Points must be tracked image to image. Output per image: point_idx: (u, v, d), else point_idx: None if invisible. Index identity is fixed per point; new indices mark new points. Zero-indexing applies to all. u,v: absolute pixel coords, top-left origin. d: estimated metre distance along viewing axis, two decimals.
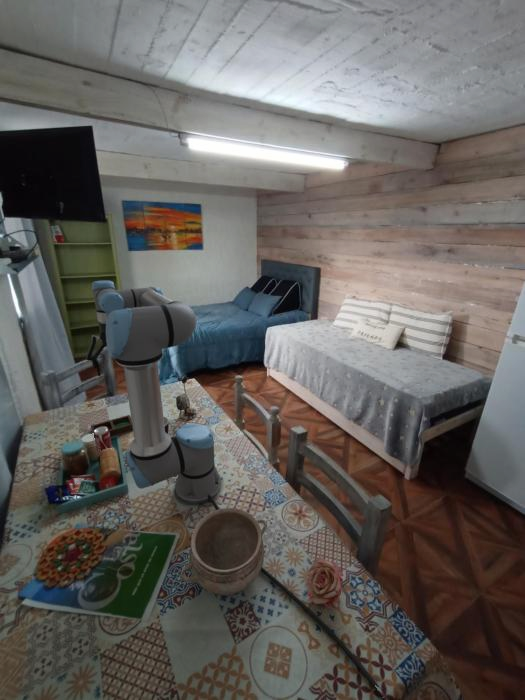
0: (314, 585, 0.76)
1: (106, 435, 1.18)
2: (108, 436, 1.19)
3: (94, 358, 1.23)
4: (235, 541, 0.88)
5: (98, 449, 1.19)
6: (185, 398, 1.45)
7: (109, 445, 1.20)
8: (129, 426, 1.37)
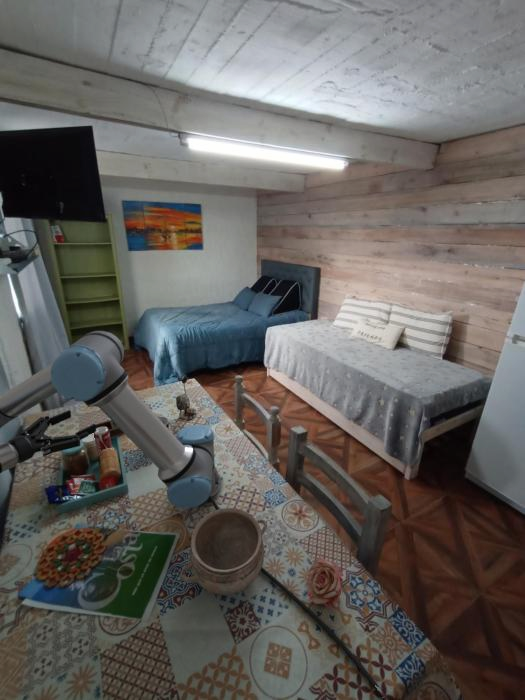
0: (314, 585, 0.76)
1: (106, 435, 1.18)
2: (108, 436, 1.19)
3: (73, 436, 0.99)
4: (235, 541, 0.88)
5: (98, 449, 1.19)
6: (185, 398, 1.45)
7: (109, 445, 1.20)
8: None
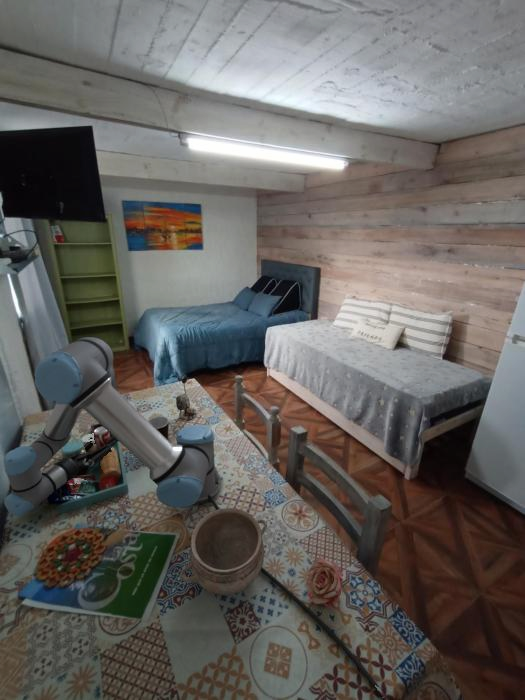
0: (314, 585, 0.76)
1: (106, 435, 1.18)
2: (108, 436, 1.19)
3: (105, 445, 1.17)
4: (235, 541, 0.88)
5: None
6: (185, 398, 1.45)
7: None
8: None
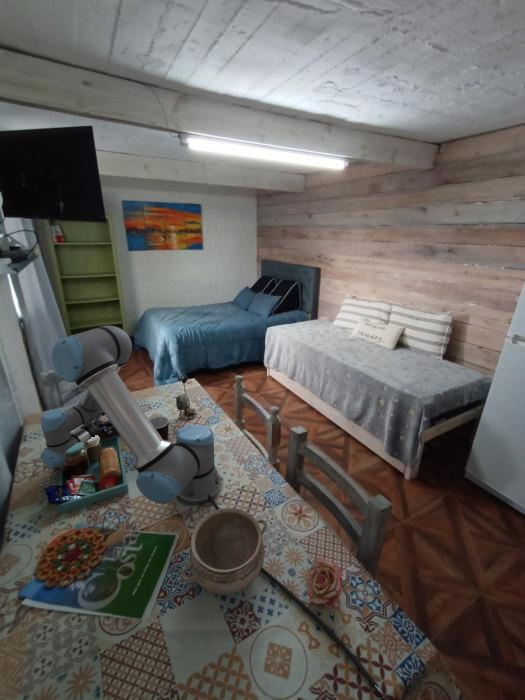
0: (314, 585, 0.76)
1: None
2: None
3: None
4: (235, 541, 0.88)
5: None
6: (185, 398, 1.45)
7: None
8: None
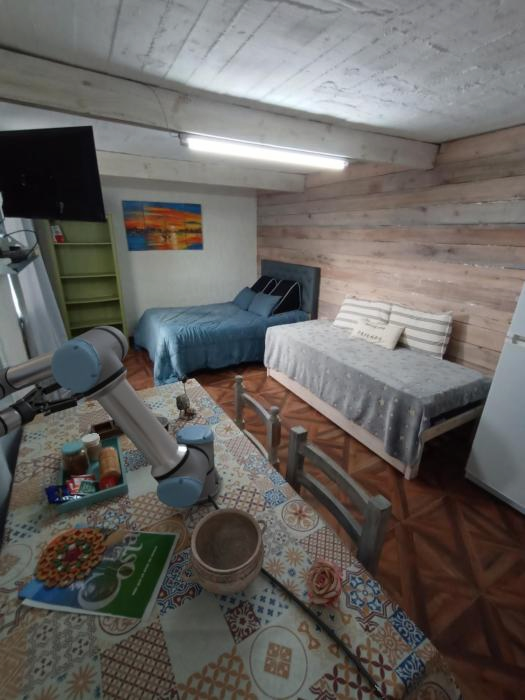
0: (314, 585, 0.76)
1: None
2: None
3: (70, 397, 1.07)
4: (235, 541, 0.88)
5: None
6: (185, 398, 1.45)
7: None
8: None
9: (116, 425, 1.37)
